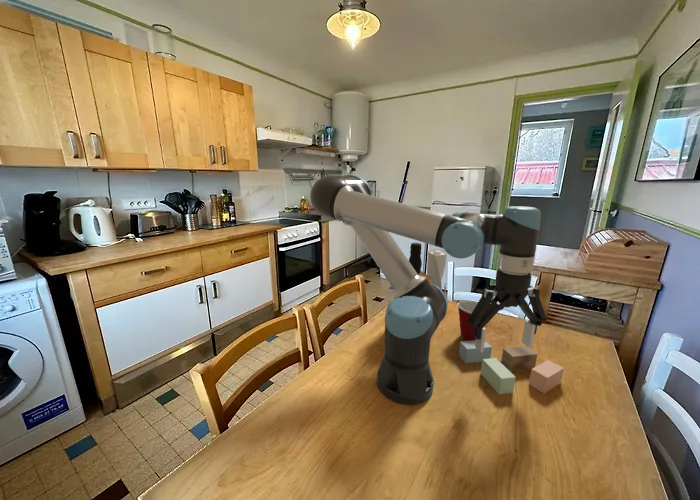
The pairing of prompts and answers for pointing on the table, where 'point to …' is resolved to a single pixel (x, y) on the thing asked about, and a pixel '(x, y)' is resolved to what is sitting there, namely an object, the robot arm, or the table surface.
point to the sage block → (498, 376)
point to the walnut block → (519, 358)
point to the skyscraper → (436, 267)
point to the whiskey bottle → (417, 260)
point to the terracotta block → (546, 376)
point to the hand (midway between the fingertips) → (503, 347)
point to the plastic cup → (464, 314)
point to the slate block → (473, 352)
